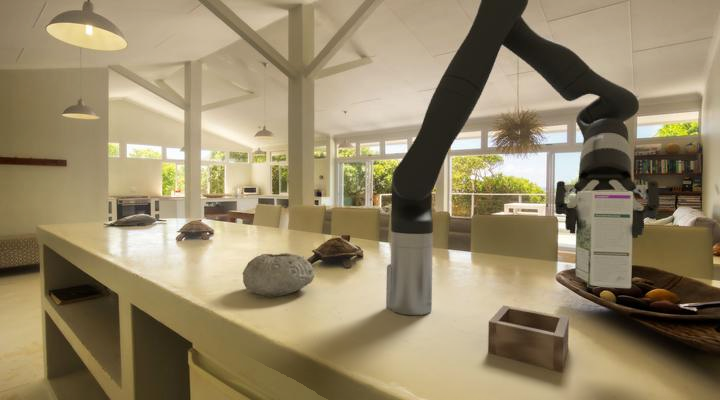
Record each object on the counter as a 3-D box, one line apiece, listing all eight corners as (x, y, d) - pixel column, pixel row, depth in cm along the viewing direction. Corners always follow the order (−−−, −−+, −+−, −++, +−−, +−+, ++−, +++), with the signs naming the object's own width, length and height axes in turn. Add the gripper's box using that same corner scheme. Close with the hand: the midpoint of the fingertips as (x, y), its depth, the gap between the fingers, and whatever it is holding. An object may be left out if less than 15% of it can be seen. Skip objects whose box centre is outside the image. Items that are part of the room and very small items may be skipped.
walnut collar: (488, 352, 55) (488, 321, 55) (503, 332, 63) (503, 305, 63) (562, 372, 49) (563, 337, 49) (568, 346, 57) (568, 317, 57)
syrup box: (633, 289, 50) (636, 190, 50) (588, 285, 51) (591, 189, 51) (612, 279, 56) (615, 191, 55) (572, 277, 57) (575, 190, 57)
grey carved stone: (261, 282, 98) (261, 247, 98) (321, 285, 95) (321, 249, 95) (228, 300, 80) (229, 258, 80) (301, 305, 78) (302, 261, 77)
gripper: (557, 149, 63) (547, 213, 54) (659, 144, 55) (668, 218, 46) (559, 179, 68) (550, 243, 58) (654, 178, 59) (661, 253, 50)
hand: (602, 232), depth 52 cm, fingers closed on syrup box, 7 cm apart
